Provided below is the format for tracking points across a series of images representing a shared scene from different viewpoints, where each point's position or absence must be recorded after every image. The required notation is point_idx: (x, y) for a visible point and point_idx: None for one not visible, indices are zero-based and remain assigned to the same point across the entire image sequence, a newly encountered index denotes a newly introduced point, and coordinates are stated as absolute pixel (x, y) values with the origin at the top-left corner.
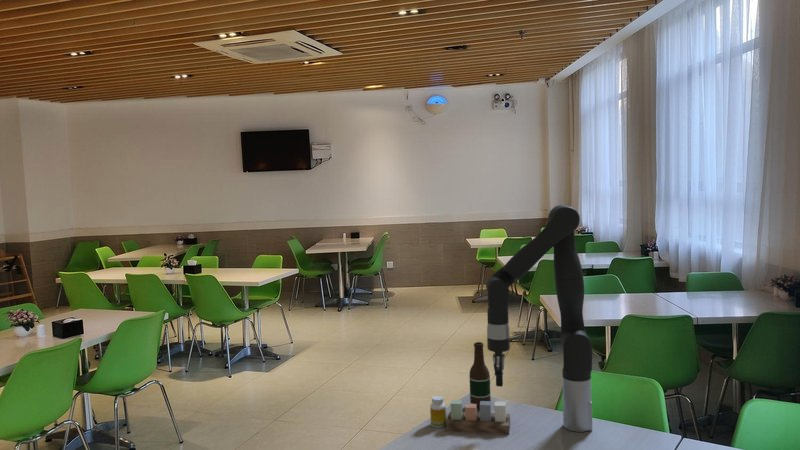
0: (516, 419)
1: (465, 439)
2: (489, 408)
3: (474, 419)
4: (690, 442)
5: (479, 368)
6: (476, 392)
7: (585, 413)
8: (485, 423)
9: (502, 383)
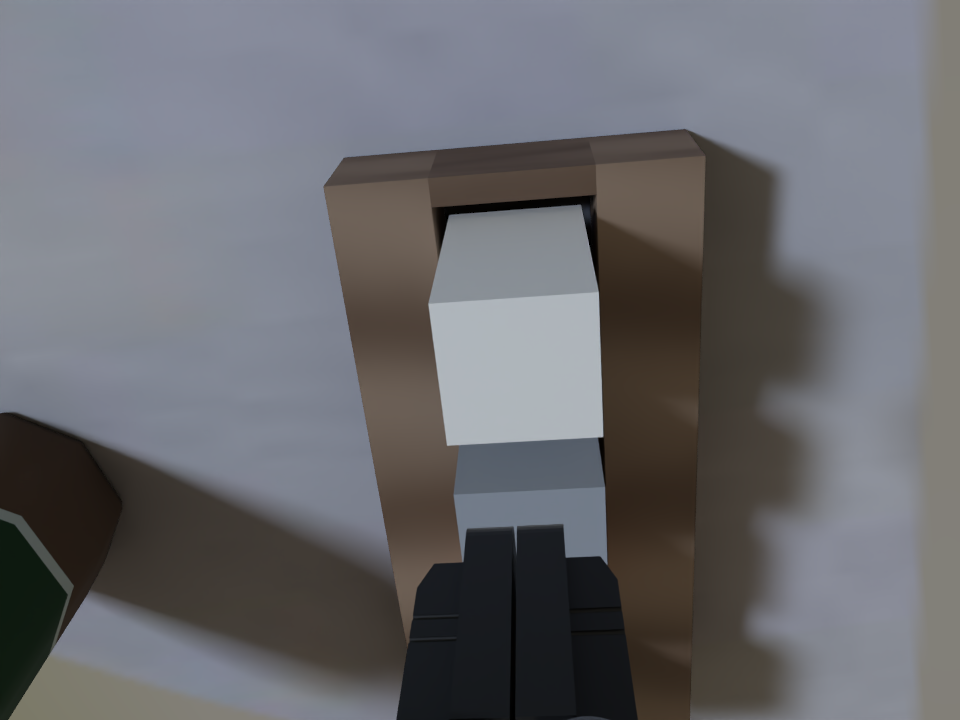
0: (238, 94)
1: (832, 508)
2: (599, 469)
3: None
4: None
5: None
6: (41, 640)
7: None
8: (666, 417)
9: (564, 559)
